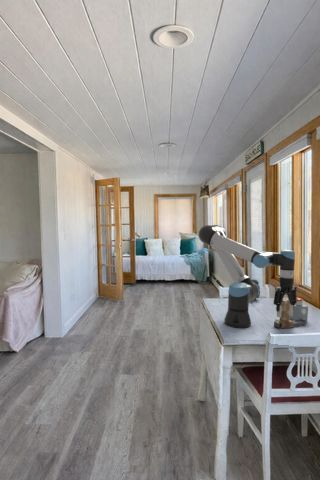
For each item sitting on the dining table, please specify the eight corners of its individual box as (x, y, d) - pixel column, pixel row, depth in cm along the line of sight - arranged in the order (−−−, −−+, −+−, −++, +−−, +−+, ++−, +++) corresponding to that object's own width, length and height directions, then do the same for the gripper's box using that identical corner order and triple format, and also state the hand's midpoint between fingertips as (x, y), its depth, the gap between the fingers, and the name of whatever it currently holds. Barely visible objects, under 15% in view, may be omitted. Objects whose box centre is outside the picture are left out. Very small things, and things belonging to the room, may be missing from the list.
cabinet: (298, 321, 190) (299, 307, 189) (288, 318, 197) (289, 304, 196) (307, 320, 192) (308, 306, 192) (297, 317, 199) (298, 303, 199)
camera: (260, 301, 235) (260, 282, 234) (245, 300, 237) (246, 281, 236) (258, 298, 245) (259, 279, 244) (244, 297, 247) (245, 278, 246)
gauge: (298, 310, 191) (299, 300, 191) (293, 308, 195) (293, 298, 195) (304, 309, 193) (304, 299, 193) (298, 307, 197) (299, 297, 197)
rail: (278, 328, 177) (279, 323, 176) (273, 326, 180) (274, 320, 180) (305, 325, 184) (306, 319, 184) (300, 323, 188) (300, 317, 187)
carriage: (282, 328, 176) (283, 302, 175) (274, 324, 182) (276, 299, 181) (293, 326, 179) (294, 301, 178) (285, 323, 185) (286, 298, 184)
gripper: (277, 279, 171) (274, 319, 173) (305, 277, 179) (303, 316, 180) (267, 276, 178) (265, 315, 180) (295, 275, 186) (293, 312, 187)
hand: (284, 316), depth 180 cm, fingers open, 8 cm apart
